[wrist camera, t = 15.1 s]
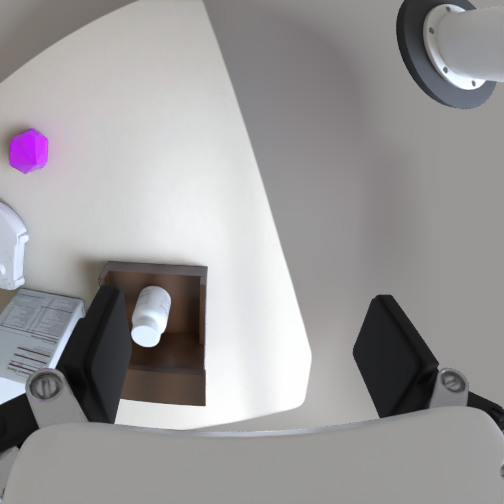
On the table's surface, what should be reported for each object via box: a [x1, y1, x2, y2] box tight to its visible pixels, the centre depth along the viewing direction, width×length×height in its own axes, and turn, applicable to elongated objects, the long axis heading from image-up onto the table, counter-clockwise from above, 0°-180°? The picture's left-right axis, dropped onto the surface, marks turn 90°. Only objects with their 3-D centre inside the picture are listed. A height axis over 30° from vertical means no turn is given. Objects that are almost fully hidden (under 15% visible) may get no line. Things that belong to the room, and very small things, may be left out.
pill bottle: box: [131, 286, 171, 347], centre depth 38 cm, size 4×4×8 cm
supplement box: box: [0, 289, 86, 404], centre depth 38 cm, size 17×13×18 cm
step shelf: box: [99, 261, 208, 406], centre depth 40 cm, size 14×16×11 cm
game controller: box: [0, 202, 29, 290], centre depth 36 cm, size 14×4×10 cm
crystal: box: [9, 129, 48, 174], centre depth 30 cm, size 5×5×5 cm
